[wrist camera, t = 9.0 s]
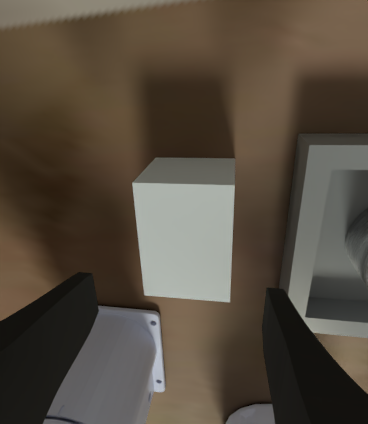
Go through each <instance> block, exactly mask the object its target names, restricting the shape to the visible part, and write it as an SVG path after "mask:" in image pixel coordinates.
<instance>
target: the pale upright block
mask: <svg viewBox="0 0 368 424" xmlns="http://www.w3.org/2000/svg"><path fill="white" fill-rule="evenodd" d="M132 185H133V195H134V204H135V213H136V222H137V232H138V241H139V250H140V260H141V269H142V278H143V288H144V295H148V296H160V297H172V298H184V299H196V300H208V301H220V302H230V287H231V264H232V240H233V216H234V192H235V158H155V159H154V160H153V161H152V162H151V163H150V164H149V165H148V166H147V168H146V169H145V170H144V171H143V172H142V173H141V174H140V175H139V176H138V177H137V178H136V179H135V180H134V181H133V183H132Z"/></svg>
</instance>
